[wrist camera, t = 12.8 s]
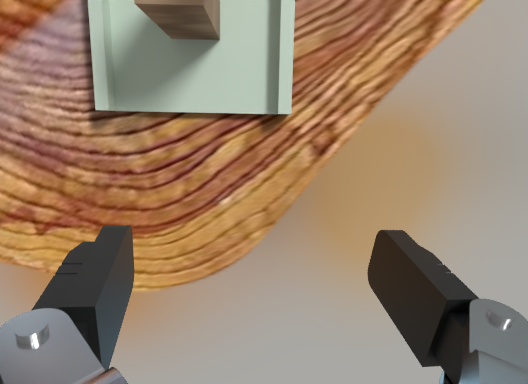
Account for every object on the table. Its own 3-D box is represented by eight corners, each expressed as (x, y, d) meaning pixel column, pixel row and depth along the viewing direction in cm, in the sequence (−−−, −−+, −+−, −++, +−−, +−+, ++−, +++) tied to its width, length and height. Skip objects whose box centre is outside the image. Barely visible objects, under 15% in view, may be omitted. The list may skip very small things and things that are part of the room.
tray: (107, 110, 35) (95, 110, 32) (93, -97, 31) (79, -115, 29) (289, 114, 35) (291, 114, 33) (295, -91, 32) (298, -109, 29)
